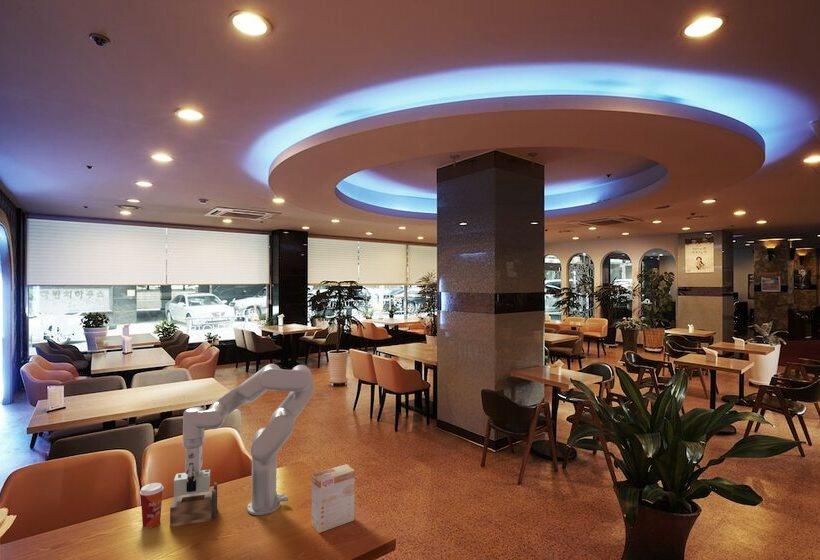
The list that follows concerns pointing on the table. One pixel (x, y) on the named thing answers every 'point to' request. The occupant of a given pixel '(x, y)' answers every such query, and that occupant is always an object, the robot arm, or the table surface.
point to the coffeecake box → (333, 497)
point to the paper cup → (151, 504)
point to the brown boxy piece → (193, 508)
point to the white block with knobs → (201, 483)
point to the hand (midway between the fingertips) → (192, 486)
